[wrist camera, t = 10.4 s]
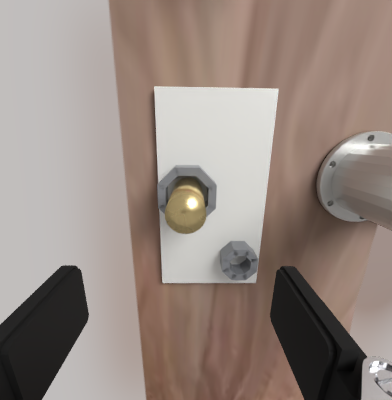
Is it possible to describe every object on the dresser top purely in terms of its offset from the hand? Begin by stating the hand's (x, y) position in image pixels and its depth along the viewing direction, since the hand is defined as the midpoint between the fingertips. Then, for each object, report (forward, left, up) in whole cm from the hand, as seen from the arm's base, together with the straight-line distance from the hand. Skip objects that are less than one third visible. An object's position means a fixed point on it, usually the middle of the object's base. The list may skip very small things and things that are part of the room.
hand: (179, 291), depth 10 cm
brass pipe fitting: (0, 0, -19) cm, 19 cm away
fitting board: (-4, 0, -20) cm, 20 cm away
